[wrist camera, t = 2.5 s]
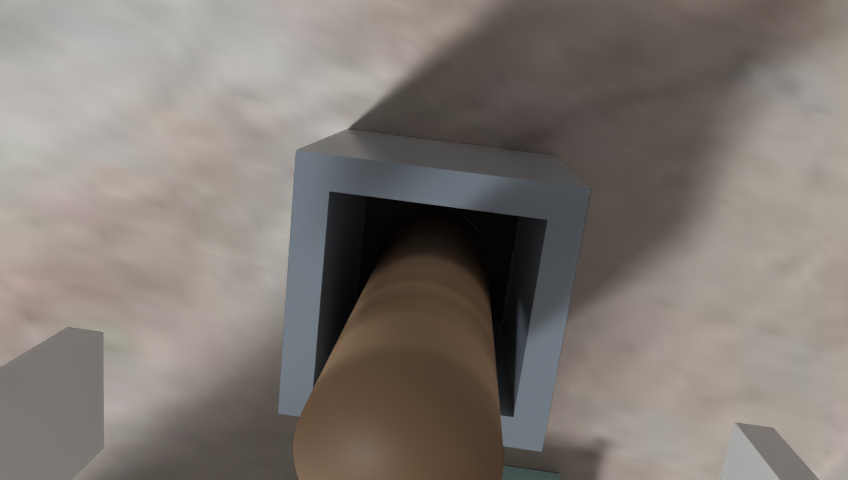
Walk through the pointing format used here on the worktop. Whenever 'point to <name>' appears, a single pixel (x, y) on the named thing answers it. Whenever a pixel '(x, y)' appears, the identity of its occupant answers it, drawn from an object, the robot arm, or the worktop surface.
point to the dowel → (411, 367)
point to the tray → (527, 474)
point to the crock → (444, 186)
